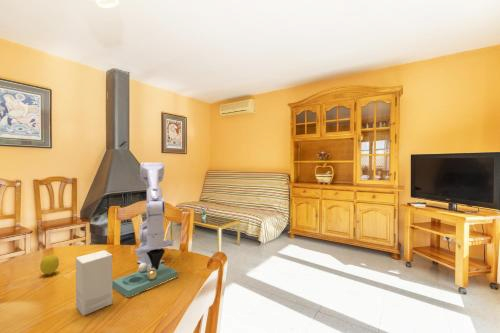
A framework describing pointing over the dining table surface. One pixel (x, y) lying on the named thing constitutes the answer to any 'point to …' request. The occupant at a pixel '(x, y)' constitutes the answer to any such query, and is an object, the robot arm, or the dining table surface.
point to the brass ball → (151, 274)
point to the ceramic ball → (143, 267)
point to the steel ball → (151, 268)
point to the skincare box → (93, 281)
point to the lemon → (49, 264)
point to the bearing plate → (142, 280)
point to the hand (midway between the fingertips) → (155, 269)
